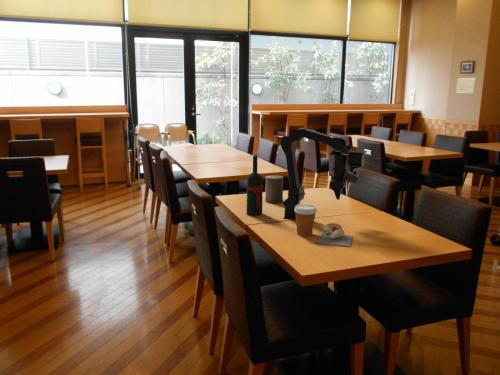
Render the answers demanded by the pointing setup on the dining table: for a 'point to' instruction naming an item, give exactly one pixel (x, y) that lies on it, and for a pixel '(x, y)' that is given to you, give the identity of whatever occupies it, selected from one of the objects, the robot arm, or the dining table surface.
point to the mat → (335, 240)
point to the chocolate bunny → (334, 230)
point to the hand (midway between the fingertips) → (338, 199)
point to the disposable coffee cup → (305, 219)
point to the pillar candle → (274, 189)
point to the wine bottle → (254, 191)
